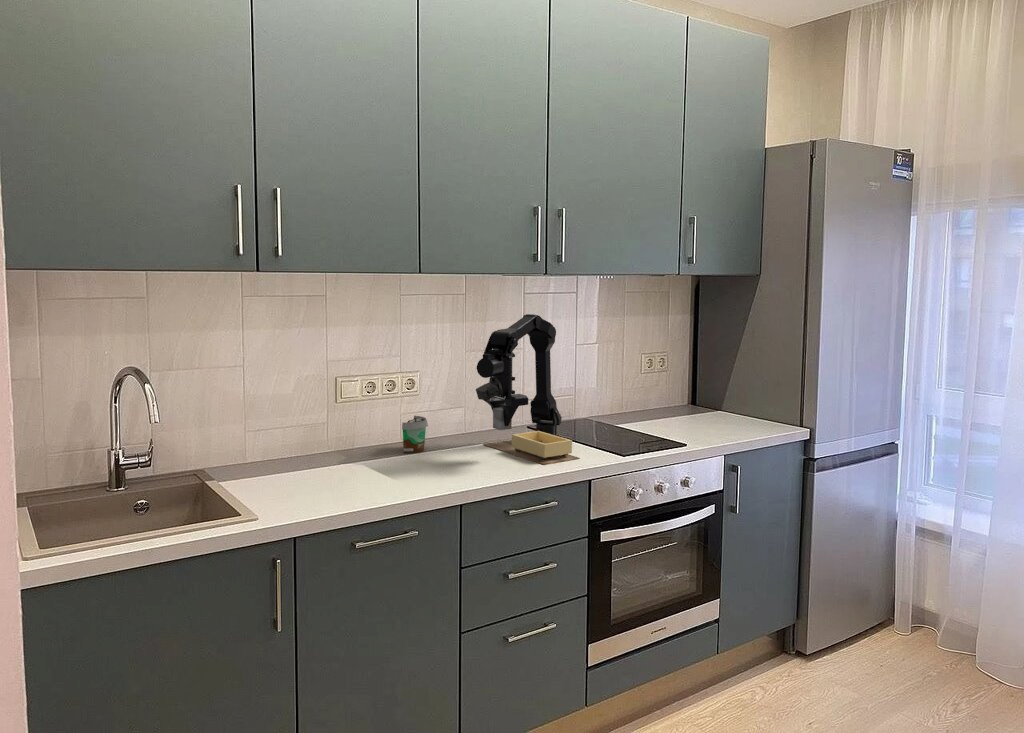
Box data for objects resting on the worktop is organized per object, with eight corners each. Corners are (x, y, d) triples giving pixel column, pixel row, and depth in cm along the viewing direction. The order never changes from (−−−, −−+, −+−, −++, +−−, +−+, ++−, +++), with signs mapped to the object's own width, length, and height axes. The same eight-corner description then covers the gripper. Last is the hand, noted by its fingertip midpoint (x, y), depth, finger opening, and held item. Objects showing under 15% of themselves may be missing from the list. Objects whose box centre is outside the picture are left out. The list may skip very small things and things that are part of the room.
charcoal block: (503, 426, 254) (503, 406, 254) (511, 428, 251) (511, 409, 250) (492, 427, 252) (493, 408, 251) (500, 430, 249) (500, 410, 248)
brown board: (517, 439, 281) (517, 438, 281) (579, 458, 256) (579, 457, 256) (482, 444, 273) (482, 443, 273) (543, 465, 247) (543, 464, 247)
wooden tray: (538, 446, 269) (538, 430, 269) (571, 456, 256) (572, 440, 255) (511, 450, 263) (511, 434, 262) (544, 461, 250) (544, 444, 249)
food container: (421, 455, 257) (421, 423, 255) (401, 454, 258) (401, 422, 257) (432, 447, 269) (432, 416, 267) (414, 445, 270) (414, 415, 269)
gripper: (462, 371, 252) (462, 422, 254) (498, 380, 237) (498, 433, 239) (493, 368, 259) (493, 418, 261) (529, 376, 244) (529, 429, 246)
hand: (502, 424), depth 252 cm, fingers closed on charcoal block, 4 cm apart
